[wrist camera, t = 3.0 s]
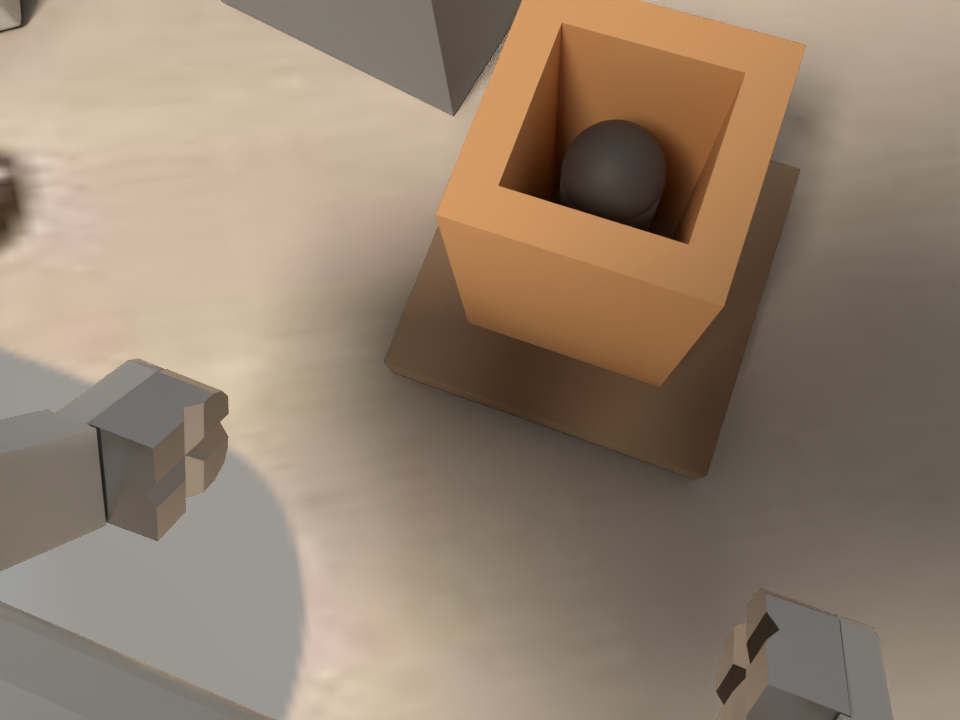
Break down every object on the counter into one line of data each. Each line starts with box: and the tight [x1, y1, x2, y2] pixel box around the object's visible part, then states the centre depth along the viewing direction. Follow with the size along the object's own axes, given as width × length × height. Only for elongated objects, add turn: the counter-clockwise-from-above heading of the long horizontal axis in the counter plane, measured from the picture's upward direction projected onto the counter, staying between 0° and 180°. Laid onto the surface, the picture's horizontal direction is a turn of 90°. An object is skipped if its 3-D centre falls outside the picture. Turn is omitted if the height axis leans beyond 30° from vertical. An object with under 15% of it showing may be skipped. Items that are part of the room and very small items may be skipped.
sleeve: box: [435, 0, 806, 387], centre depth 20 cm, size 6×6×8 cm
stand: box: [384, 120, 800, 479], centre depth 21 cm, size 10×10×9 cm
